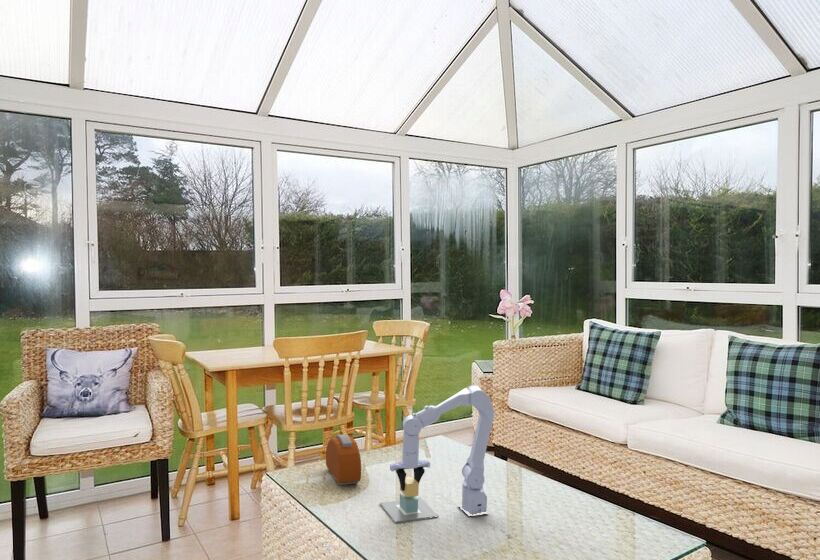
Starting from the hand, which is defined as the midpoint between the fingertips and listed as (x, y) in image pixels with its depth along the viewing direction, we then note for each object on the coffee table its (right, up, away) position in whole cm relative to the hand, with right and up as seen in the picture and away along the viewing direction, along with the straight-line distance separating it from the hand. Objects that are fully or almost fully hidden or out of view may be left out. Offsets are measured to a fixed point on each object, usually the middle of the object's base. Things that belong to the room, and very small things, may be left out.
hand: (409, 488), depth 201 cm
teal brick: (0, -7, 0) cm, 7 cm away
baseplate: (0, -8, 0) cm, 8 cm away
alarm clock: (-27, -6, +30) cm, 41 cm away
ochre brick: (0, -1, 0) cm, 1 cm away
